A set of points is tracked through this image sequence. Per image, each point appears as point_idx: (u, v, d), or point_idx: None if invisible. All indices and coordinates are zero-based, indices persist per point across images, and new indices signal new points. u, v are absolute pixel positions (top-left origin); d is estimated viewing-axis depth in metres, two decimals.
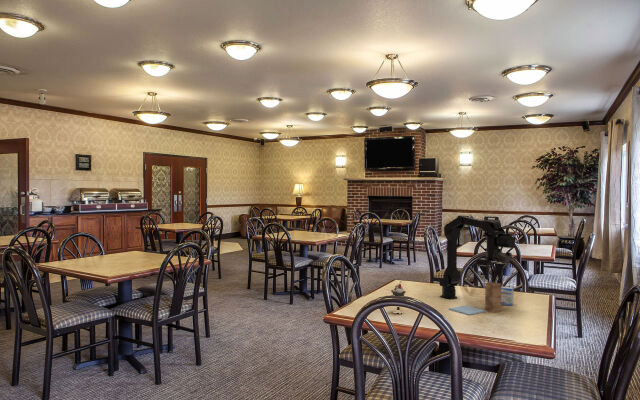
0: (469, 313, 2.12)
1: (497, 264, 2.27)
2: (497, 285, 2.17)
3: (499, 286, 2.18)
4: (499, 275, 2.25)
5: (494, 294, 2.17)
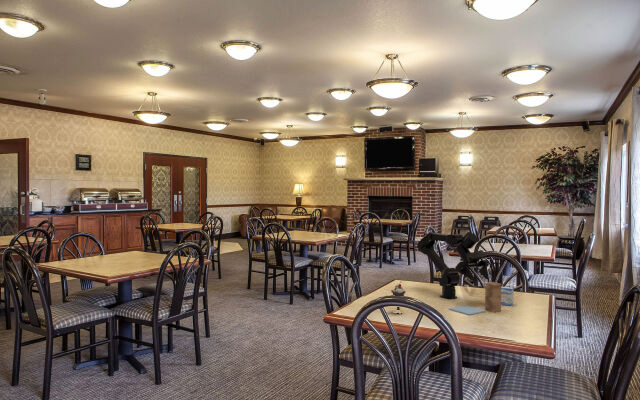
0: (469, 313, 2.12)
1: (480, 270, 2.33)
2: (497, 285, 2.17)
3: (499, 286, 2.18)
4: (486, 276, 2.29)
5: (494, 294, 2.17)
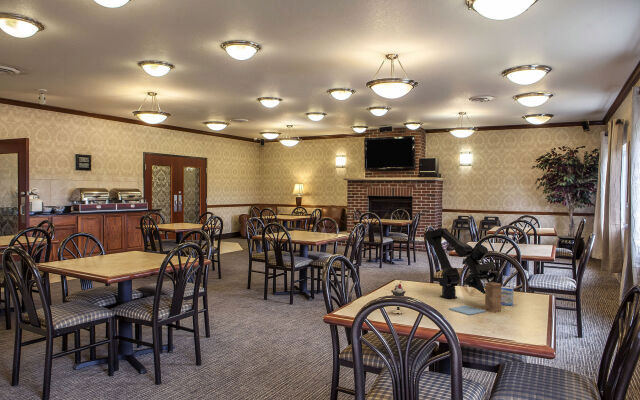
0: (469, 313, 2.12)
1: None
2: (497, 285, 2.17)
3: (499, 286, 2.18)
4: None
5: (494, 294, 2.17)
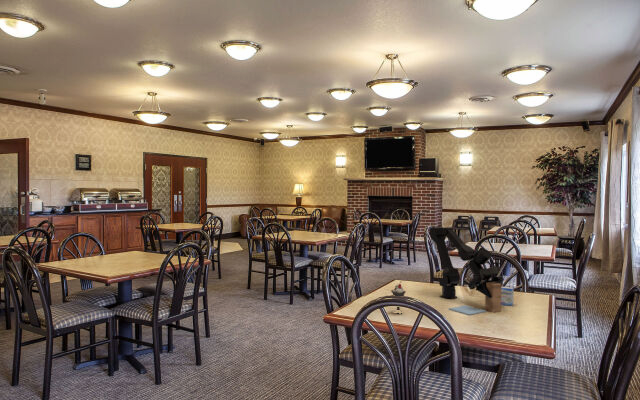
0: (469, 313, 2.12)
1: None
2: (497, 285, 2.17)
3: (499, 286, 2.18)
4: None
5: (494, 294, 2.17)
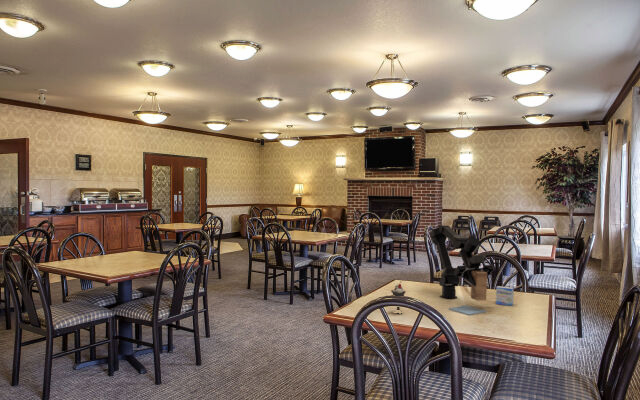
0: (469, 313, 2.12)
1: None
2: (482, 273, 2.16)
3: (484, 275, 2.16)
4: None
5: (478, 282, 2.16)
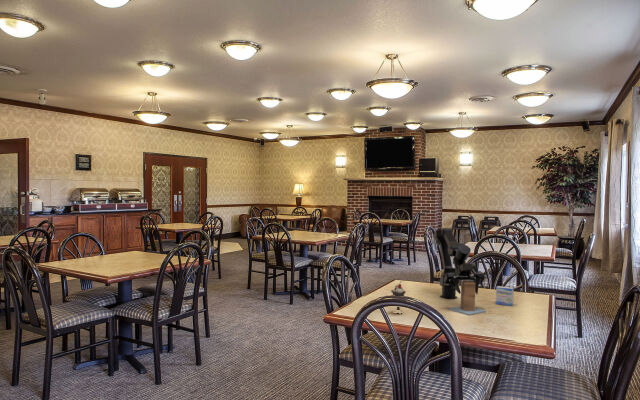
0: (469, 313, 2.12)
1: None
2: (470, 284, 2.16)
3: (472, 285, 2.16)
4: (476, 290, 2.18)
5: (465, 293, 2.16)
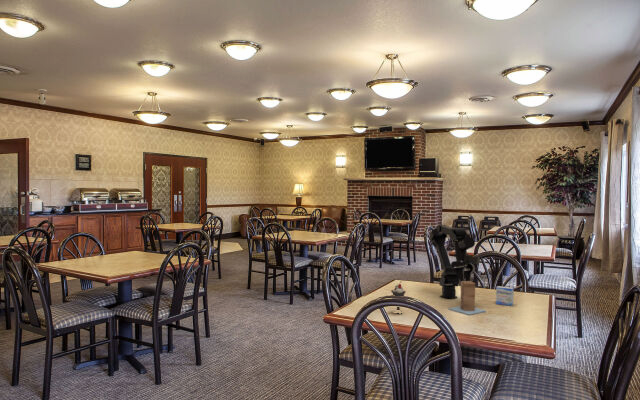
0: (469, 313, 2.12)
1: (464, 271, 2.35)
2: (469, 284, 2.16)
3: (472, 285, 2.16)
4: None
5: (465, 293, 2.16)
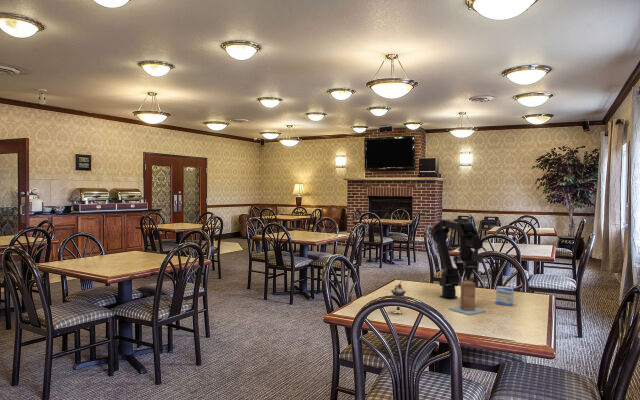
0: (469, 313, 2.12)
1: (459, 263, 2.37)
2: (469, 284, 2.16)
3: (472, 285, 2.16)
4: (462, 274, 2.37)
5: (465, 293, 2.16)
